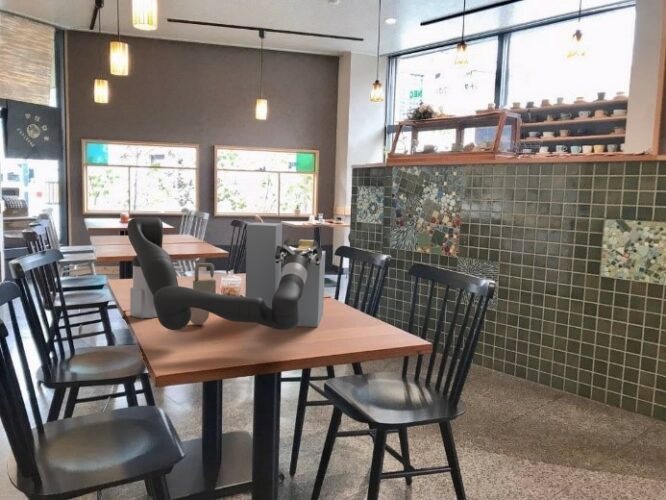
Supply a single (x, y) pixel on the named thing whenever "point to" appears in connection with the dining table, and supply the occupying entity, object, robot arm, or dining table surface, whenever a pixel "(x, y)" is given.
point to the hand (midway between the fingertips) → (301, 241)
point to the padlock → (205, 284)
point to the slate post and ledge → (267, 273)
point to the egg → (198, 316)
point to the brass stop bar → (304, 245)
